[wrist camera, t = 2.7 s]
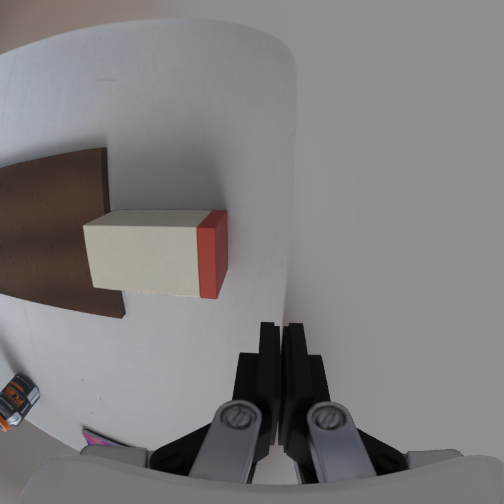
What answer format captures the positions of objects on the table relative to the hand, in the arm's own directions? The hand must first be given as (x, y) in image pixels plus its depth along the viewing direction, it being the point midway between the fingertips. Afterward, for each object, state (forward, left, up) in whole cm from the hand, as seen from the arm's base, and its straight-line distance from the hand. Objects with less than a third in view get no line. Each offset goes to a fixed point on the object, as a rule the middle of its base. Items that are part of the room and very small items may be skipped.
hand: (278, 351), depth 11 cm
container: (0, -9, -13) cm, 15 cm away
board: (0, -34, -13) cm, 36 cm away
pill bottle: (+28, -41, -13) cm, 51 cm away
